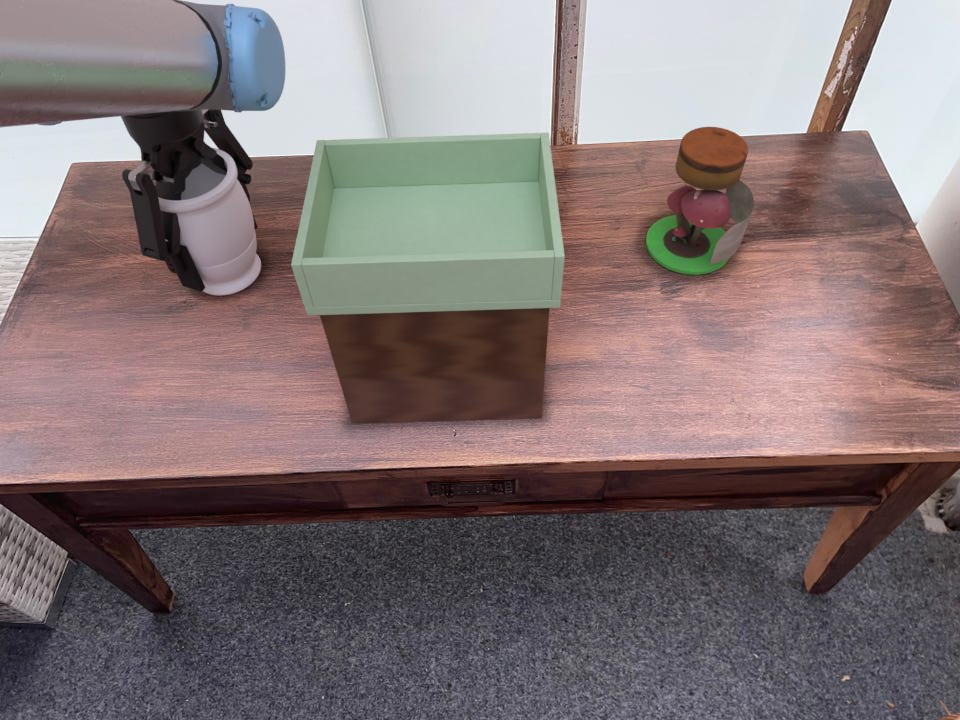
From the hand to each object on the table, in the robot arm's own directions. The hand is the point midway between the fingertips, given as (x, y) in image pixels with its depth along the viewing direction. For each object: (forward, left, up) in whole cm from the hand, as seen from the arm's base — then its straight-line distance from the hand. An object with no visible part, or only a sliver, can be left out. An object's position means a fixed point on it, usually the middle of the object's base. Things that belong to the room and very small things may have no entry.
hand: (221, 255), depth 89 cm
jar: (0, 0, -3) cm, 3 cm away
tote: (-4, -32, +15) cm, 35 cm away
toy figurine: (+24, -53, -3) cm, 58 cm away
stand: (-4, -32, -3) cm, 32 cm away
